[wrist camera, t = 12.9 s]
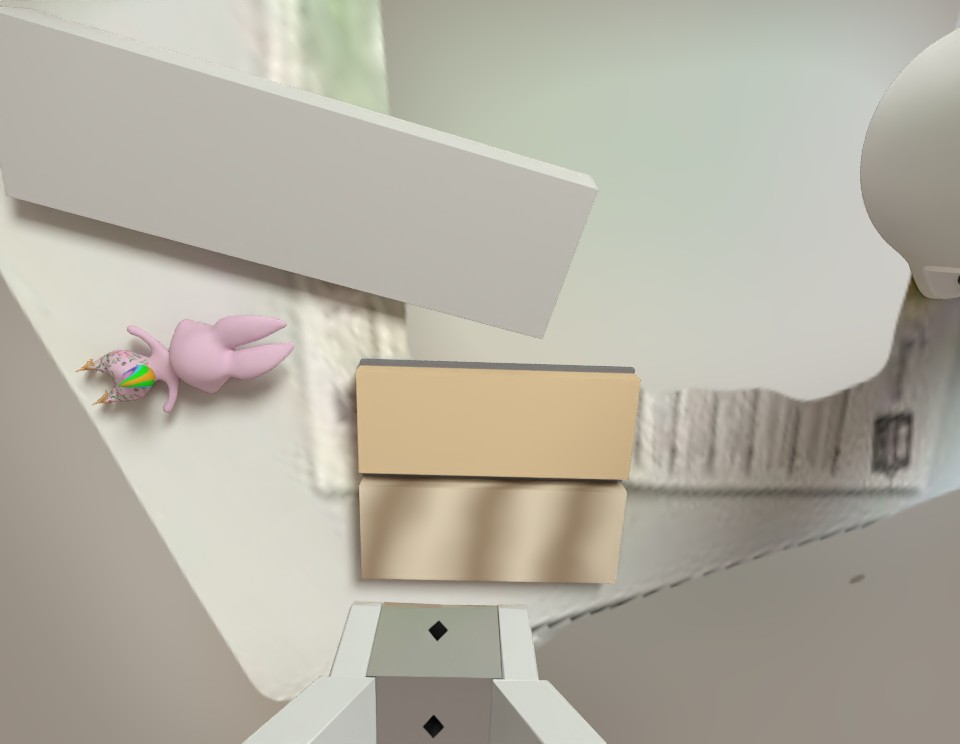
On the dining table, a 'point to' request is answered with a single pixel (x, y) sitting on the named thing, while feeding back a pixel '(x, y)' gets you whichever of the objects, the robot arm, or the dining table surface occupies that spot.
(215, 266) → the dining table surface
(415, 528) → the ash plank
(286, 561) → the dining table surface
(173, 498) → the dining table surface
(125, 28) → the dining table surface
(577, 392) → the laid floor
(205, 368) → the rabbit figure
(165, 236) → the decorative molding
